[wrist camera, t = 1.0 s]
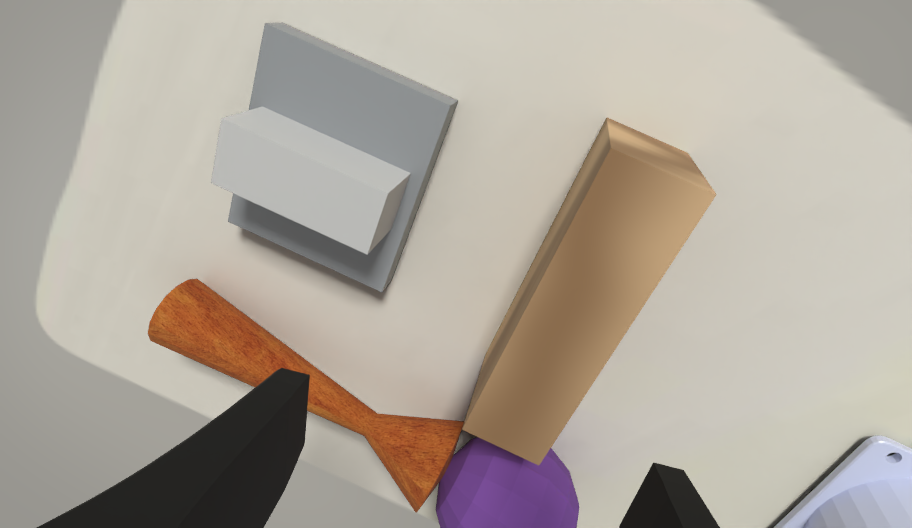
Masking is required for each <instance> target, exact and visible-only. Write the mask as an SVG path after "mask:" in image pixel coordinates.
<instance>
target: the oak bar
mask: <svg viewBox="0 0 912 528" xmlns="http://www.w3.org/2000/svg"><path fill="white" fill-rule="evenodd" d="M715 196H716V193H715V192H714V190H713V189H712V187H711V186H710V184H709V183H708V182H707V180H706V179H705V177H704V176H703V174H702V173H701V171H700V170H699V169H698V167H697V166H696V164H695V163H694V161H693V160H692V158H691V157H690V156H689V154H688V153H686V152H684V151H682V150H680V149H677V148H675V147H673V146H671V145H668V144H666V143H664V142H661V141H659V140H657V139H655V138H652V137H650V136H648V135H646V134H643V133H641V132H639V131H636V130H634V129H632V128H630V127H627V126H625V125H623V124H620V123H618V122H616V121H614V120H611V119H609V118H606V120H605V122H604V124H603V126H602V128H601V130H600V132H599V134H598V136H597V137H596V139H595V141H594V143H593V145H592V147H591V149H590V151H589V153H588V155H587V157H586V159H585V161H584V163H583V165H582V167H581V169H580V171H579V173H578V175H577V177H576V179H575V181H574V183H573V184H572V186H571V188H570V190H569V192H568V194H567V196H566V198H565V200H564V202H563V204H562V206H561V208H560V210H559V212H558V214H557V216H556V218H555V220H554V222H553V224H552V226H551V228H550V230H549V231H548V233H547V235H546V237H545V239H544V241H543V243H542V245H541V247H540V249H539V251H538V253H537V255H536V257H535V259H534V261H533V263H532V265H531V267H530V269H529V271H528V273H527V275H526V277H525V278H524V280H523V282H522V284H521V286H520V288H519V290H518V292H517V294H516V296H515V298H514V300H513V302H512V304H511V306H510V308H509V310H508V312H507V314H506V316H505V318H504V320H503V322H502V324H501V325H500V327H499V329H498V331H497V333H496V335H495V337H494V339H493V341H492V343H491V345H490V347H489V349H488V351H487V353H486V355H485V358H484V361H483V365H482V368H481V371H480V374H479V377H478V380H477V384H476V387H475V390H474V393H473V396H472V399H471V403H470V406H469V409H468V412H467V415H466V418H465V422H464V425H463V428H462V430H464V431H466V432H468V433H470V434H473V435H475V436H477V437H479V438H481V439H483V440H485V441H487V442H490V443H492V444H494V445H496V446H498V447H500V448H502V449H505V450H507V451H509V452H511V453H513V454H515V455H517V456H519V457H522V458H524V459H526V460H528V461H530V462H532V463H534V464H537V465H540V463H541V462H542V460H543V459H544V457H545V456H546V454H547V453H548V451H549V450H550V448H551V447H552V445H553V443H554V442H555V440H556V439H557V437H558V436H559V434H560V433H561V431H562V430H563V428H564V427H565V425H566V424H567V422H568V421H569V419H570V418H571V416H572V414H573V413H574V411H575V410H576V408H577V407H578V405H579V404H580V402H581V401H582V399H583V398H584V396H585V395H586V393H587V392H588V390H589V388H590V387H591V385H592V384H593V382H594V381H595V379H596V378H597V376H598V375H599V373H600V372H601V370H602V369H603V367H604V366H605V364H606V362H607V361H608V359H609V358H610V356H611V355H612V353H613V352H614V350H615V349H616V347H617V346H618V344H619V343H620V341H621V340H622V338H623V337H624V335H625V333H626V332H627V330H628V329H629V327H630V326H631V324H632V323H633V321H634V320H635V318H636V317H637V315H638V314H639V312H640V311H641V309H642V307H643V306H644V304H645V303H646V301H647V300H648V298H649V297H650V295H651V294H652V292H653V291H654V289H655V288H656V286H657V285H658V283H659V282H660V280H661V278H662V277H663V275H664V274H665V272H666V271H667V269H668V268H669V266H670V265H671V263H672V262H673V260H674V259H675V257H676V256H677V254H678V252H679V251H680V249H681V248H682V246H683V245H684V243H685V242H686V240H687V239H688V237H689V236H690V234H691V233H692V231H693V230H694V228H695V226H696V225H697V223H698V222H699V220H700V219H701V217H702V216H703V214H704V213H705V211H706V210H707V208H708V207H709V205H710V204H711V202H712V201H713V199H714V197H715Z"/></svg>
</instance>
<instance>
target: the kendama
mask: <svg viewBox="0 0 912 528" xmlns="http://www.w3.org/2000/svg"><path fill="white" fill-rule="evenodd" d="M148 335H149V338H150V340H151V341H152V342H155V343H157V344H159V345H161V346H164V347H166V348H168V349H170V350H173V351H175V352H177V353H179V354H182V355H184V356H186V357H188V358H191V359H193V360H195V361H197V362H200V363H202V364H204V365H206V366H209V367H211V368H213V369H215V370H217V371H220V372H222V373H224V374H226V375H229V376H231V377H233V378H235V379H238V380H240V381H242V382H244V383H247V384H249V385H251V386H253V387H257V386H258V385H259V384H260V383H262V382H263V381H264V380H265V379H267V378H268V377H269V376H270V375H272V374H273V373H274V372H275V371H277V370H278V369H280V368H285V369H289V370H293V371H297V372H301V373H305V374H309V375H310V381H309V393H308V406H307V411H309V412H312V413H314V414H316V415H318V416H321V417H323V418H325V419H327V420H330V421H332V422H334V423H336V424H339V425H341V426H343V427H345V428H348V429H350V430H352V431H354V432H357V433H359V434H361V435H363V436H365V438H366V439H367V441H368V442H369V444H370V445H371V447H372V448H373V450H374V451H375V453H376V454H377V455H378V457H379V458H380V460H381V461H382V463H383V464H384V466H385V467H386V469H387V470H388V472H389V473H390V475H391V476H392V478H393V479H394V481H395V482H396V484H397V485H398V487H399V488H400V490H401V491H402V493H403V494H404V496H405V497H406V499H407V500H408V502H409V503H410V505H411V506H412V508H413V509H414V511H415V512H417V511H418V510H419V509H420V507H421V506H422V505H423V503H424V502H425V501H426V499H427V498H428V497H429V495H430V494H431V492H432V491H433V490H434V488H435V487H436V486H437V484H438V483H439V487H438V495H437V504H436V513H437V516H438V520H439V524H440V528H576V527H577V520H578V513H579V503H578V499H577V495H576V492H575V489H574V485H573V482H572V479H571V475H570V472H569V470H568V469H567V468H566V466H565V465H564V464H563V463H562V461H561V460H560V459H559V458H558V456H557V455H556V454H555V452H554V451H553V450H552V449H551V448H550V450H549V451H548V453H547V454H546V456H545V457H544V459H543V460H542V462H541V463H540V465H537V464H534V463H532V462H530V461H528V460H526V459H524V458H522V457H519V456H517V455H515V454H513V453H511V452H509V451H507V450H505V449H502V448H500V447H498V446H496V445H494V444H492V443H490V442H487V441H485V440H483V439H481V438H479V437H477V438H474V439H472V440H471V441H469V442H468V443H467V444H466V445H465V446H464V447H462V448H461V449H460V450H459V451H458V452H457V453H455V454H454V451H455V448H456V445H457V442H458V439H459V436H460V433H461V430H462V427H463V424H464V422H463V421H452V420H441V419H430V418H419V417H408V416H397V415H386V414H377V413H376V412H375V411H373V410H372V409H370V408H369V407H368V406H366V405H365V404H364V403H362V402H361V401H360V400H358V399H357V398H356V397H354V396H353V395H352V394H350V393H349V392H348V391H346V390H345V389H344V388H342V387H341V386H340V385H338V384H337V383H336V382H334V381H333V380H332V379H330V378H329V377H328V376H326V375H325V374H324V373H322V372H321V371H320V370H318V369H317V368H316V367H314V366H313V365H312V364H310V363H309V362H308V361H306V360H305V359H304V358H302V357H301V356H300V355H298V354H297V353H296V352H294V351H293V350H292V349H290V348H289V347H288V346H286V345H285V344H284V343H282V342H281V341H280V340H278V339H277V338H276V337H274V336H273V335H272V334H270V333H269V332H268V331H266V330H265V329H264V328H262V327H261V326H260V325H258V324H257V323H256V322H254V321H253V320H252V319H250V318H249V317H248V316H246V315H245V314H244V313H242V312H241V311H240V310H238V309H237V308H236V307H234V306H233V305H232V304H230V303H229V302H228V301H226V300H225V299H224V298H222V297H221V296H220V295H218V294H217V293H216V292H214V291H213V290H211V289H210V288H209V287H207V286H206V285H205V284H203V283H202V282H201V281H199V280H198V279H190V280H187V281H185V282H183V283H181V284H180V285H178V286H176V287H175V288H174V289H173V290H172V291H171V292H170V293H169V294H168V295H167V296H166V297H165V298H164V299H163V301H162V302H161V303H160V305H159V306H158V307H157V308H156V310H155V312H154V314H153V317H152V319H151V321H150V324H149V330H148ZM453 454H454V455H453Z"/></svg>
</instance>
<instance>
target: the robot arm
mask: <svg viewBox="0 0 912 528" xmlns="http://www.w3.org/2000/svg"><path fill="white" fill-rule="evenodd" d="M309 381H310V375H309V374H305V373H301V372H297V371H293V370H289V369H285V368H280V369H278V370H277V371H275V372H274V373H273V374H272V375H270V376H269V377H268V378H267V379H265V380H264V381H263V382H262V383H260V384H259V385H258V386H257V387H256V388H254V389H253V390H252V391H251V392H249V393H248V394H247V395H245V396H244V397H243V398H242V399H240V400H239V401H238V402H236V403H235V404H234V405H233V406H231V407H230V408H229V409H227V410H226V411H225V412H223V413H222V414H221V415H219V416H218V417H217V418H215V419H214V420H212V421H211V422H210V423H208V424H207V425H206V426H204V427H203V428H202V429H200V430H199V431H198V432H196V433H195V434H193V435H192V436H191V437H189V438H188V439H186V440H185V441H183V442H182V443H180V444H179V445H177V446H176V447H174V448H173V449H171V450H170V451H168V452H167V453H165V454H164V455H162V456H161V457H159V458H158V459H156V460H155V461H153V462H152V463H150V464H149V465H147V466H146V467H144V468H142V469H141V470H139V471H137V472H136V473H134V474H133V475H131V476H129V477H128V478H126V479H124V480H123V481H121V482H119V483H118V484H116V485H114V486H113V487H111V488H109V489H107V490H106V491H104V492H102V493H101V494H99V495H97V496H95V497H94V498H92V499H90V500H88V501H86V502H84V503H83V504H81V505H79V506H77V507H75V508H73V509H71V510H69V511H68V512H66V513H64V514H62V515H60V516H58V517H56V518H55V519H52V520H50V521H49V522H47V523H45V524H43V525H41V526H39V527H37V528H264V526H265V524H266V522H267V520H268V519H269V517H270V515H271V513H272V512H273V510H274V508H275V506H276V505H277V503H278V501H279V499H280V497H281V496H282V494H283V492H284V490H285V488H286V486H287V484H288V481H289V479H290V476H291V474H292V472H293V470H294V468H295V465H296V463H297V461H298V458H299V456H300V453H301V451H302V449H303V446H304V443H305V431H306V418H307V406H308V393H309ZM894 452H896V453H895V454H893V455H891V456H887V455H888V454H890V453H894ZM619 528H720V527H719V526H718V524H717V522H716V521H715V519H714V518H713V516H712V514H711V513H710V511H709V510H708V508H707V507H706V505H705V503H704V502H703V500H702V498H701V497H700V495H699V494H698V492H697V490H696V489H695V487H694V486H693V484H692V483H691V481H690V479H689V478H688V476H687V475H686V473H685V472H684V470H681V469H677V468H673V467H669V466H665V465H661V464H657V463H653V464H652V466H651V468H650V470H649V472H648V474H647V476H646V477H645V479H644V481H643V483H642V485H641V487H640V489H639V490H638V492H637V494H636V496H635V498H634V500H633V502H632V504H631V505H630V507H629V509H628V511H627V513H626V515H625V517H624V518H623V520H622V522H621V524H620V526H619ZM774 528H912V449H911V448H909V447H907V446H905V445H903V444H900V443H898V442H896V441H894V440H892V439H889V438H887V437H884V436H873V437H869V438H868V439H866V440H865V441H864V442H863V443H862V444H861V445H860V446H859V447H858V448H857V449H855V450H854V451H853V452H852V453H851V454H850V455H849V456H848V457H847V458H846V459H845V460H844V461H843V462H842V463H841V464H840V465H839V466H838V467H837V468H836V469H835V470H833V471H832V472H831V473H830V474H829V475H828V476H827V477H826V478H825V479H824V480H823V481H822V482H821V483H820V484H819V485H818V486H817V487H816V488H815V489H814V490H812V491H811V492H810V493H809V494H808V495H807V496H806V497H805V498H804V499H803V500H802V501H801V502H800V503H799V504H798V505H797V506H796V507H795V508H794V509H793V510H792V511H790V512H789V513H788V514H787V515H786V516H785V517H784V518H783V519H782V520H781V521H780V522H779V523H778V524H777V525H776V526H775V527H774Z"/></svg>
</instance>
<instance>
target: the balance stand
mask: <svg viewBox="0 0 912 528" xmlns="http://www.w3.org/2000/svg"><path fill="white" fill-rule="evenodd" d="M457 102H458V100H456V99H453V98H451V97H449V96H447V95H444V94H442V93H440V92H438V91H435V90H433V89H431V88H429V87H426V86H424V85H422V84H420V83H417V82H415V81H413V80H411V79H408V78H406V77H404V76H402V75H399V74H397V73H395V72H393V71H390V70H388V69H386V68H384V67H381V66H379V65H377V64H374V63H372V62H370V61H368V60H365V59H363V58H361V57H359V56H356V55H354V54H352V53H350V52H347V51H345V50H343V49H341V48H338V47H336V46H334V45H332V44H329V43H327V42H325V41H323V40H320V39H318V38H316V37H314V36H311V35H309V34H307V33H305V32H302V31H300V30H298V29H295V28H293V27H291V26H289V25H286V24H284V23H265V26H264V31H263V37H262V42H261V47H260V53H259V58H258V63H257V69H256V74H255V79H254V85H253V90H252V95H251V101H250V106H249V110H248V111H245V112H241V113H237V114H234V115H230V116H227V117H223V118H221V124H220V130H219V136H218V142H217V148H216V155H215V161H214V167H213V173H212V179H211V183H212V184H214V185H216V186H218V187H221V188H223V189H225V190H227V191H229V192H232V193H233V197H232V202H231V208H230V213H229V218H228V222H230V223H232V224H234V225H236V226H239V227H241V228H243V229H245V230H247V231H250V232H252V233H254V234H256V235H258V236H260V237H263V238H265V239H267V240H269V241H271V242H273V243H276V244H278V245H280V246H282V247H284V248H286V249H289V250H291V251H293V252H295V253H297V254H299V255H302V256H304V257H306V258H308V259H310V260H312V261H315V262H317V263H319V264H321V265H323V266H326V267H328V268H330V269H332V270H334V271H336V272H339V273H341V274H343V275H345V276H347V277H349V278H352V279H354V280H356V281H358V282H360V283H362V284H365V285H367V286H369V287H371V288H373V289H375V290H378V291H380V292H383V290H384V289H385V288H386V286H387V285H388V284H389V283H390V281H391V280H392V277H393V275H394V272H395V269H396V267H397V264H398V261H399V258H400V256H401V253H402V250H403V248H404V245H405V242H406V240H407V237H408V234H409V232H410V229H411V226H412V223H413V221H414V218H415V215H416V213H417V210H418V207H419V205H420V202H421V199H422V197H423V194H424V191H425V188H426V186H427V183H428V180H429V178H430V175H431V172H432V170H433V167H434V164H435V162H436V159H437V156H438V153H439V151H440V148H441V145H442V143H443V140H444V137H445V135H446V132H447V129H448V127H449V124H450V121H451V118H452V116H453V113H454V110H455V108H456V105H457Z"/></svg>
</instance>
